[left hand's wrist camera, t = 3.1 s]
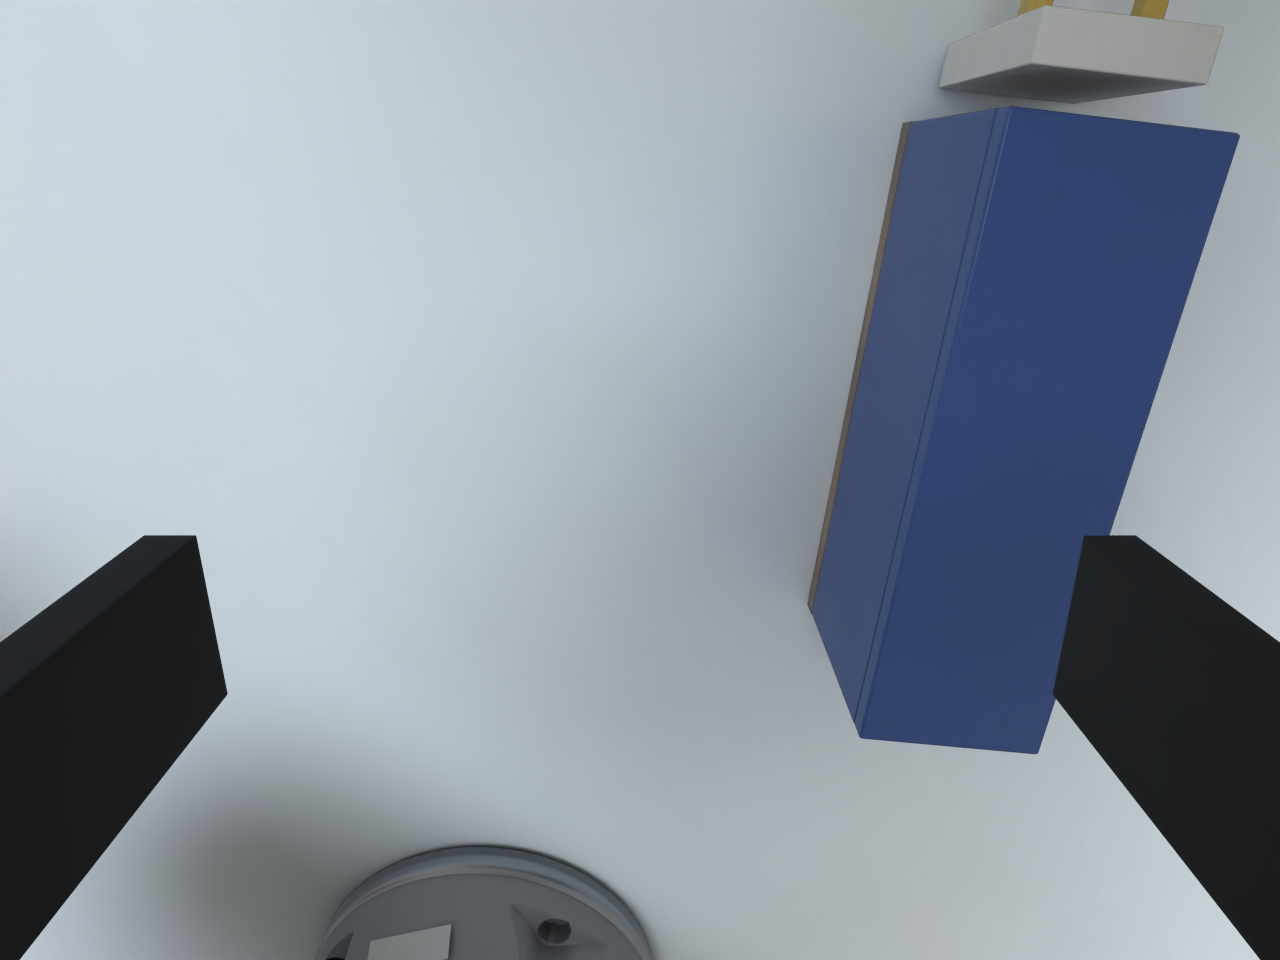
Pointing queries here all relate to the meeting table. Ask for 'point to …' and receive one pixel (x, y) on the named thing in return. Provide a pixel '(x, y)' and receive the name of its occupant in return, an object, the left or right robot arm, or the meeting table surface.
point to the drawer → (1082, 54)
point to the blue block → (1000, 406)
